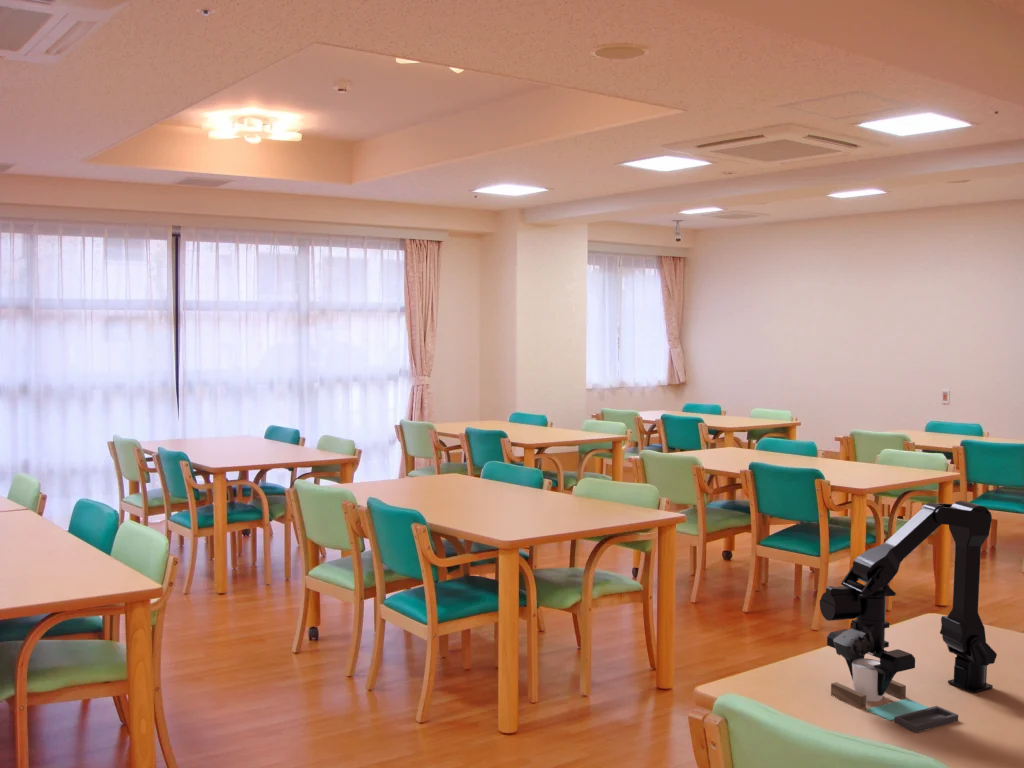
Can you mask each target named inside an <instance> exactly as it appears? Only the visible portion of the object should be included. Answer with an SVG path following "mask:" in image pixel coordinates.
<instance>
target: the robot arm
mask: <svg viewBox="0 0 1024 768" xmlns="http://www.w3.org/2000/svg"><path fill="white" fill-rule="evenodd" d="M992 520H993V517H992V513H991V511H990V510H989V509H988V508H987V507H986V506H983V505H979V504H976V503H972V502H969V501H965V500H957V501H955V502H953V503H943V502H940V503H935V502H934V503H933V502H926V503H924V504H923V505H922V506H921V508H920V510H919V511H918V512H917V513H915V515H913V516H912V517H911V518H910V519H909V520H908V521H907V522H906V523H905V524H904V525H902V526H901V527H900V528H899V529H898V530H897V531H896V532H895V533H893V535H891V536H890V537H889V538H888V539H887V540H886V541H885V542H884V543H882V544H880V545H878V546H875V547H872V548H868V549H867V550H866V551H864V552H863V553H861V554H859V555H858V556H857V557H855V558H854V560H853V562H852V566H851V568H850V569H849V571H848V573H847V574H846V575H845V576H844V578H843V579H842V581H841V583H840V584H841V586H834V585H832V586H831V585H830V586H829V585H827V586H826V587H825V592H823V594H821V598H820V599H819V608H820V609H819V610H820V613H821V615H822V616H823V618H824V619H825V620H826V621H831V622H832V621H842V620H843V621H844V620H851V622H850V626H849V629H845V628H843V629H840V630H835V631H830V632H829V634H828V635H827V637H826V646H827V647H830V648H833V649H835V652H836V654H837V655H838V656H841V657H842V658H844V659H845V661H846V664H847V667H848V669H849V674H850V676H851V679H852V681H853V672H852V661H853V660H855V659H860V658H865V655H870V656H872V657H874V658H878V659H879V661H880V664H879V665H874V668H875V669H876V670H877V672H878V695H879V696H882V695H883V696H884V694H885V693H886V692H885V691H886V689H887V687H888V686H889V684H890V682H891V680H893V678H894V677H895V675H896V674H897V673H899V672H904V671H909V670H913V669H915V668H916V657H915V655H913V654H912V653H910V652H908V651H904V650H901V649H899V648H898V649H892V650H889V651H888V650H885V649H886V648H889V647H890V642H889V641H887V640H886V639H885V638H886V637H885V636H886V630H885V629H890V622H889V621H886V610H887V609H886V606H887V597H894V596H896V595H897V593H896V591H894V590H893V589H892V588H891V587H890V585H889V584H890V583H891V582H892V581H893V579H894V578H895V577H896V575H897V574H898V572H899V568H900V565H901V563H902V562H903V561H904V559H905V558H907V557H908V556H909V555H910V554H911V553H913V551H915V549H916V548H918V547H919V546H920V544H922V543H923V542H924V541H926V539H927V538H928V537H929V536H931V535H932V534H933V533H934V532H935V531H936V530H937V529H938V528H939V527H941V526H942V525H948V529H949V531H950V535H951V537H952V539H953V541H954V544H955V545H954V546H955V547H954V548H955V549H954V551H955V552H954V566H953V567H954V573H953V593H952V595H953V596H952V609H951V610H950V612H949V613H948V615H941V618H940V621H941V627H940V631H939V634H940V635H942V641H943V642H944V643H945V644H946V646H947V649H948V652H949V653H952V654H954V655H956V656H955V657H954V665H953V666H954V667H953V678H951V679H948V680H947V683H948V684H949V685H952V686H955V687H957V688H959V689H963V690H965V691H967V692H970V693H978V692H983V691H986V690H990V689H992V688H993V684H990V683H988V682H987V674H988V666H989V665H993V664H995V662H996V659H997V656H998V654H997V653H996V651H995V650H994V649H993V648H992V647H991V646H990V644H988V643H987V638H986V629H985V625H984V623H983V621H982V619H981V616H980V615H979V614H980V613H979V600H980V598H979V594H980V574H981V557H982V556H981V555H982V554H981V553H982V545H984V543H985V541H986V540H987V539H988V537H989V536H990V532H991V525H992ZM858 581H860V582H858ZM861 582H863V583H865V585H864V584H862V583H861Z"/></svg>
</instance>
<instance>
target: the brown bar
mask: <svg viewBox="0 0 1024 768" xmlns="http://www.w3.org/2000/svg"><path fill="white" fill-rule="evenodd" d="M906 690H907V686H906V685H905V684H903V683H900V682H898V681H895V680H893V679H892V680H891V682H890V684H889V686H888V687H887V689H886V691H885V693H887V694H888V695H891V696H893V697H896V698H897V699H901V700H902V699H906V697H907V695H906V693H907V691H906ZM832 695H833V696H832ZM830 696H832V697H834V696H835V697H834V698H836V697H837V698H836V699H838V700H840V699H841V700H840V701H843V702H845V703H848V704H849V705H851V706H854V707H856V708H858V709H860V710H861V709H864V708H866V707H867V701H866V695H864V694H862V693H860V692H857V691H855V690H854V688H853V689H852V688H851V687H849V686H846V685H844V684H842V683H839V682H837V681H836V682H831V684H830ZM866 709H867V708H866Z"/></svg>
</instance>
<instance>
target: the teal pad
mask: <svg viewBox="0 0 1024 768" xmlns="http://www.w3.org/2000/svg"><path fill="white" fill-rule="evenodd" d="M927 708H930V707H929V706H927V705H924V704H922V703H920V702H917V701H915V700H913V699H910V698H903V699H901V700H897V701H893V702H889V703H884V704H881V705H878V706H873V707H870V708H866V711H867V712H870V713H872V714H873V715H876V716H878V717H881V718H883V719H885V720H887V721H889V722H891V721H892V722H893V721H895V717H897V716H900V715H904V714H908V713H912V712H915V711H919V710H923V709H927Z"/></svg>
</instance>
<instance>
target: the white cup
mask: <svg viewBox="0 0 1024 768" xmlns="http://www.w3.org/2000/svg"><path fill="white" fill-rule="evenodd" d="M879 664H880V660H877V659H873V658H865V657H864V658H860V659H855V660H853V661H852V672H853V680H852V683H853V685H852V687H853V690H855V691H857V692H860V693H862V694H864V695H866V702H881V701H883V698H884V697H883V696H884V694H883V695H882V696H879V695H878V672H877V670H876V669H875V668H874V665H879Z"/></svg>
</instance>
